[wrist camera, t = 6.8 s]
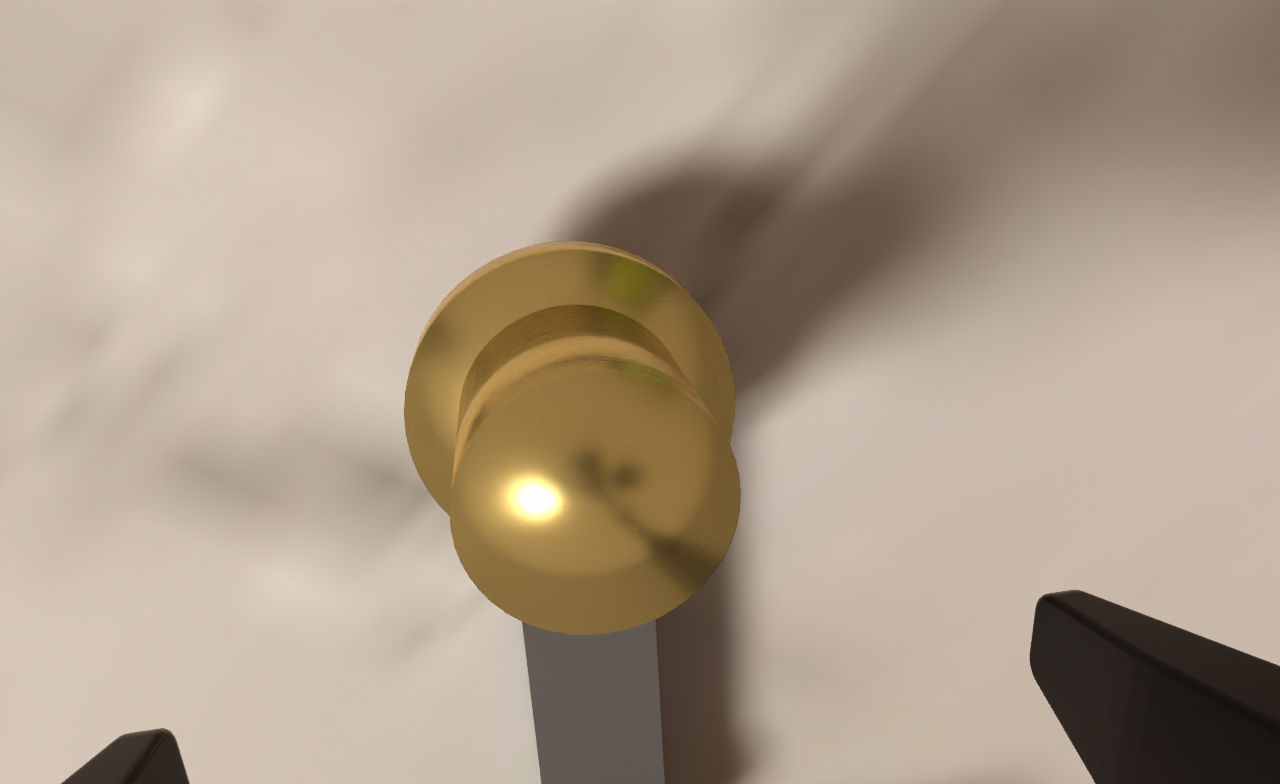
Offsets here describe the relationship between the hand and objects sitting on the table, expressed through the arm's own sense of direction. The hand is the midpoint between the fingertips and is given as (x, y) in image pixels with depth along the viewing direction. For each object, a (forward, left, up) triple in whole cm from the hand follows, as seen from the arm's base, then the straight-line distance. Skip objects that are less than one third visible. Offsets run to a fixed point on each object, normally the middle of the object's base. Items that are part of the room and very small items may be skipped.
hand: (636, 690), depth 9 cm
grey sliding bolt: (-6, 0, -12) cm, 14 cm away
